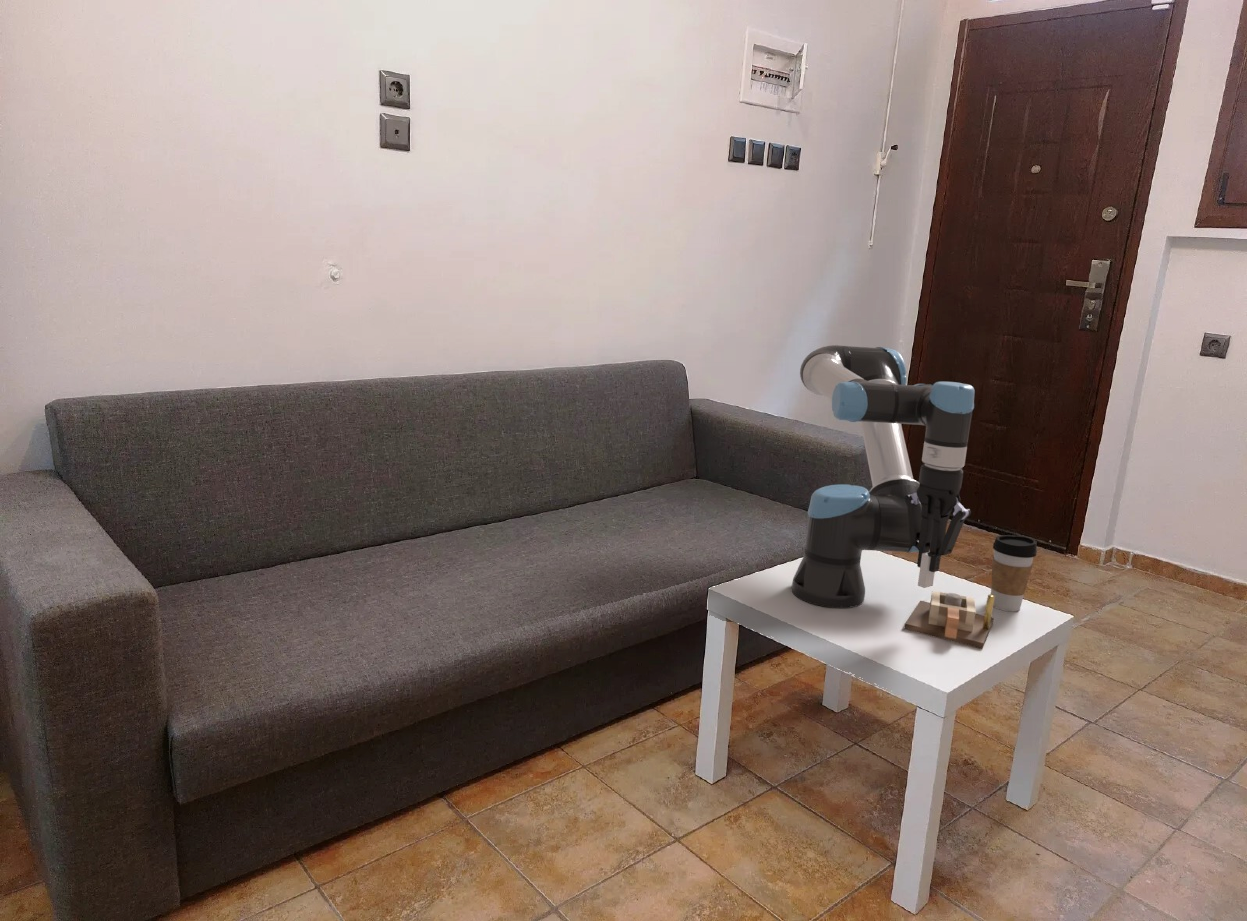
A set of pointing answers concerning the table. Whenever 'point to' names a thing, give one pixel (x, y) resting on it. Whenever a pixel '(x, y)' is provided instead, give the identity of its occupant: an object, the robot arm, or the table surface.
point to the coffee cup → (1011, 570)
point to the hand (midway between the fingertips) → (925, 585)
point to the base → (921, 625)
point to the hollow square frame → (951, 614)
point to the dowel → (988, 612)
